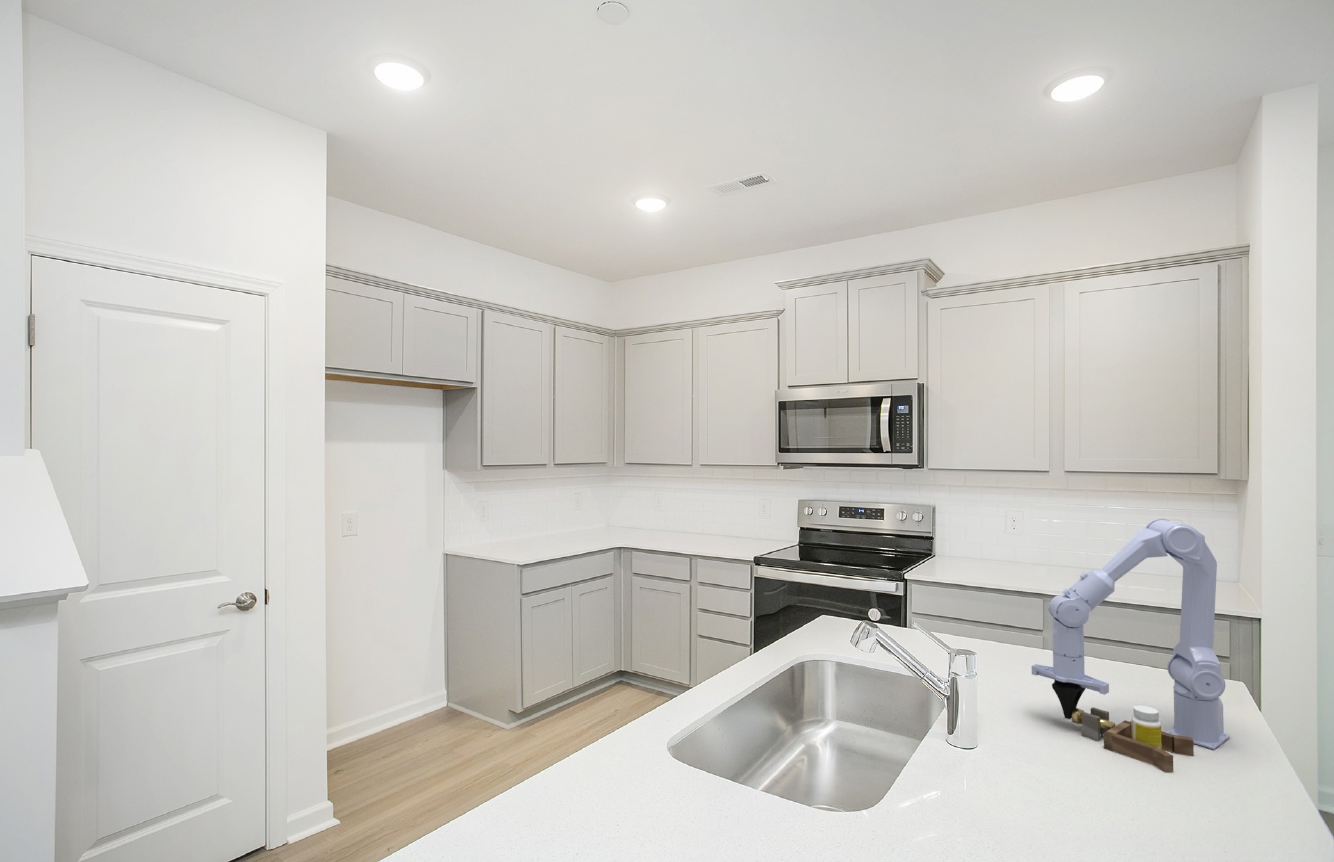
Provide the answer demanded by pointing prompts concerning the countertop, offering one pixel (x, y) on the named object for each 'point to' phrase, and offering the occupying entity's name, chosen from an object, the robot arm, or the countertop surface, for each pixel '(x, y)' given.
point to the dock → (1135, 741)
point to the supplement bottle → (1146, 726)
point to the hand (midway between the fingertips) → (1069, 717)
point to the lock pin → (1078, 719)
